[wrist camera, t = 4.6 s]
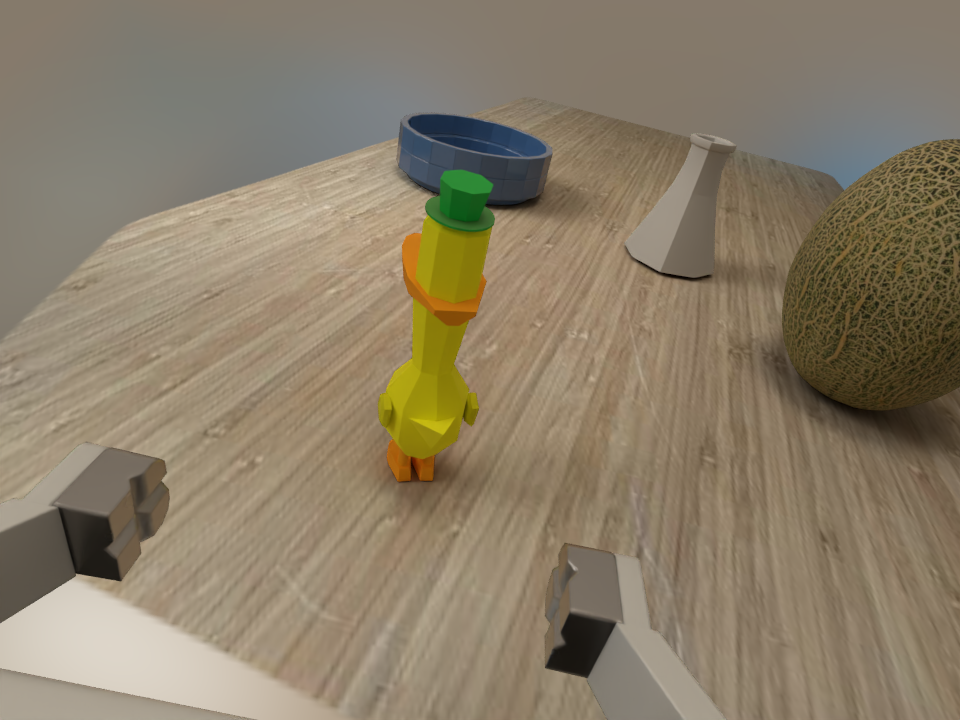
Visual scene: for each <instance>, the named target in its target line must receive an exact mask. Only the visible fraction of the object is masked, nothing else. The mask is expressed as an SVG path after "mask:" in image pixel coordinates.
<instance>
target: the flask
mask: <svg viewBox="0 0 960 720" xmlns="http://www.w3.org/2000/svg"><path fill="white" fill-rule="evenodd" d="M690 141H691V142H692V145H691V149H690V151H689V154H688V156H687V159H686V162H685V163H684V165H683V167H682V168H681V170H680V172H679V174H678V175H677V177H676V179H675V181H674V182H673V184H672V185H671V186H670V187H669V189H668V190H667V191H666V193H665V194H664V195H663V196H662V198H661V199H660V200H659V201H658V203H657V204H656V205H655V207H654V208H653V209H652V210H651V212H650V213H649V214H648V215H647V216H646V217H645V219H644V220H643V221H642V222H641V223H640V225H639V226H638V227H637V228H636V229H635V230H634V232H633V233H632V234H631V235H630V236H629V238H628V239H627V240H626V242H625V243H624V244H625V245H626V247H627V249H628V250H629V252H630V254H631V255H632V257H634V258H636V259H637V260H639V261H641V262H643V263H645V264H646V265H648V266H650V267H652V268H654V269H656V270H657V271H659V272H663V273H669V274H674V275H680V276H686V277H692V278H696V277H700V276H705V275H709V274H713V273H714V249H715V218H716V200H717V192H718V188H719V183H720V178H721V173H722V170H723V168H724V165H725V162H726V160H727V158H728V156H729V154H730V153H733V152H734V151H735V149H736V145H735V144H733V143H732V142H730V141H728V140H725V139H722V138H719V137H716V136H711V135H707V134H699V133H698V134H697V133H692V134H691V137H690Z"/></svg>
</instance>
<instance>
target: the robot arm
mask: <svg viewBox="0 0 960 720" xmlns="http://www.w3.org/2000/svg"><path fill="white" fill-rule="evenodd" d="M166 473H167V471H166V465H165V461H164V460H162V459H159V458H155V457H151V456H146V455H142V454H138V453H134V452H129V451H125V450H121V449H117V448H112V447H107V446H102V445H98V444H94V443H89V442H85V443H83V444H80V445H78V446H77V447H76V448H74V449H73V450H72V451H71V452H70V453H69V454H68V455H67V456H66V457H65V458H64V459H63V460H62V461H61V462H60V463H59V464H58V465H57V466H56V467H55V468H54V469H53V470H52V471H51V472H50V473H49V474H48V475H47V476H46V477H44V478H43V479H42V480H41V481H40V482H39V483H38V484H37V485H36V486H35V487H34V488H33V489H32V490H31V491H30V492H29V493H28V494H27V495H26V496H25V497H24V498H23V499H16V498H13V499H10V500H8V501H5V502H3V503H0V623H1V622H3V621H5V620H6V619H8V618H9V617H11V616H13V615H14V614H16V613H17V612H19V611H20V610H22V609H24V608H25V607H27V606H29V605H30V604H32V603H34V602H35V601H37V600H38V599H40V598H42V597H43V596H45V595H46V594H48V593H50V592H51V591H53V590H54V589H56V588H58V587H59V586H61V585H62V584H64V583H66V582H67V581H69V580H70V579H72V578H74V577H75V576H76V574H82V575H88V576H93V577H99V578H105V579H111V580H116V581H122V579H123V578H124V577H125V575H126V574H127V572H128V571H129V570H130V568H131V567H132V566H133V564H134V563H135V561H136V560H137V559H138V557H139V556H140V555H141V547H140V542H142V541H144V540H146V539H148V538H150V537H152V536H154V535H155V534H156V532H157V531H158V529H159V528H160V526H161V525H162V523H163V521H164V518H165V516H166V513H167V511H168V507H169V500H170V496H169V489H168V488H167V487H166V486H165V484H164V483H163V482H162V481H161V480H162V479H163V477H164V476H165V475H166ZM558 557H559V566H558V567H556V568H554V569H553V570H552V573H551V576H550V578H549V582H548V587H547V591H546V600H545V617H546V618H547V620H548V621H549V623H550V625H549V628H548V630H547V632H546V635H545V668H547V669H551V670H555V671H560V672H564V673H568V674H572V675H577V676H581V677H585V678H587V682H588V684H589V686H590V688H591V690H592V691H593V693H594V695H595V697H596V699H597V701H598V703H599V705H600V707H601V709H602V711H603V713H604V714H605V716H606V718H607V720H727V719H726V718H725V716H724V715H723V714H722V712H721V711H720V710H719V709H718V707H717V706H716V705H715V703H714V702H713V701H712V699H711V698H710V697H709V696H708V694H707V693H706V692H705V690H704V689H703V688H702V686H701V685H700V684H699V683H698V681H697V680H696V679H695V677H694V676H693V675H692V673H691V672H690V671H689V670H688V668H687V667H686V666H685V664H684V663H683V662H682V660H681V659H680V658H679V657H678V655H677V654H676V653H675V651H674V650H673V649H672V647H671V646H670V645H669V644H668V642H667V641H666V640H665V638H664V637H663V636H662V635H661V633H660V632H659V631H655V630H652V627H651V621H650V615H649V609H648V604H647V598H646V592H645V586H644V580H643V574H642V568H641V562H640V561H639V559H638V558H637V557H633V556H628V555H623V554H618V553H612V552H609V551H604V550H599V549H594V548H589V547H584V546H579V545H573V544H568V543H564V545H563V546H562V548H561V550H560V552H559V555H558ZM0 720H255V719H250V718H245V717H240V716H235V715H230V714H225V713H220V712H215V711H210V710H205V709H200V708H195V707H190V706H185V705H180V704H175V703H170V702H165V701H160V700H155V699H150V698H145V697H140V696H135V695H130V694H125V693H120V692H115V691H110V690H105V689H100V688H95V687H90V686H85V685H80V684H75V683H70V682H66V681H61V680H55V679H50V678H46V677H41V676H35V675H31V674H26V673H21V672H16V671H11V670H6V669H0Z"/></svg>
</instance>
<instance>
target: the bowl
mask: <svg viewBox="0 0 960 720" xmlns="http://www.w3.org/2000/svg"><path fill="white" fill-rule="evenodd" d="M551 158H552V147H550V146H549V145H548V144H547V143H546V142H545V141H543V140H541V139H539V138H538V137H536V136H534V135H532V134H529V133H527V132H524V131H522V130H519V129H516V128H513V127H510V126H506V125H503V124H500V123H496V122H492V121H488V120H483V119H479V118H474V117H468V116H461V115H455V114H445V113H414V114H409V115H406V116H405V117H404V118H403V119H401V124H400V132H399V141H398V149H397V158H396V160H397V163H398V166H399V168H401V169H402V170H403V171H404V172H405V173H407V174H408V176H409V177H410V178H411V179H412V180H413V181H414V182H416V183H417V184H419V185H420V186H422V187H424V188H426V189H428V190H431V191H433V192H436V193H438V194H440V178H441V177H442V175H443V173H444V171H450V170H465V171H468V172H472V173H475V174H479V175H482V176H483V177H484V178H486V179H487V180H488V181H490V182H491V183H492V184H493V187H492V190H491V192H490V195H489V197H488V199H487V202H486V204H491V205H511V204H518V203H522V202H525V201H527V200H528V199H530V198H535V197H537V196H538V195H540V194H541V193H542V192H543V189H544V186H545V182H546V178H547V173H548V170H549V166H550V162H551Z"/></svg>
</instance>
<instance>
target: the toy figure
mask: <svg viewBox="0 0 960 720" xmlns="http://www.w3.org/2000/svg"><path fill="white" fill-rule="evenodd" d="M492 187H493V184H492V183H491V182H490V181H488V180H487V179H486V178H484V177H483V176H482V175H479V174H475V173H472V172H468V171H465V170H450V171H444V173H443V175H442V177H441V178H440V196H437V197H433V198H431V199H429V200H428V201H427V203H426V205H425V210H426V212H427V214H428V215H427V217H426V218H425V220H424V222H423V229H422V234H420V233H413V234H411V235H408V236H406V238H405V240H404V242H403V245H402V262H403V275H404V281H405V284H406V287H407V290H408V293H409V294H410V295H411V296H412V297H413V343H412V358H411V359H410V360H409V361H408V362H406V363H405V364H404V365H402V366H401V367H400V368H398V369H397V370H396V371H395V372H394V374H393V376H392V378H391V380H390V382H389V384H388V387H387V389H386V393H382V394H380V397H379V401H378V414H379V420H380V422H381V424H382V426H383V427H385V428H386V429H387V431H388V432H389V434H390V435H391V437H392V438H393V439H392V440H391V441H390V442H389V446H388V452H387V461H388V465H389V466H390V468H391V470H392V472H393V474H394V476H395V477H396V479H397V481H398V482H401V481H410V479H411V459H412V464H413V466H414V468H415V470H416V472H417V475H418V477H419V479H420V481H433V474H434V459H435V455H436V454H437V453H439V452H440V451H442V450H443V449H445V448H446V447H448V446H449V445H451V444H452V443H454V442H455V441H457V438H458V434H459V431H460V427H461V423H462V419H463V418H464V421H465V422H466V423H467V424H469V425H470V426H471V427H472V425H473V424H474V422H475V419H476V416H477V413H478V410H479V406H478V401H477V395H476V393H468V392H469V388H468V386H467V385H466V383H465V382H464V380H463V378H462V377H461V375H460V373H459V372H458V370H457V369H456V367H455V365H454V362H455V359H456V356H457V354H458V351H459V348H460V345H461V342H462V339H463V336H464V333H465V330H466V327H467V324H468V322H469V320H470V319H472V318H473V317H475V316H476V313H477V310H478V307H479V304H480V301H481V297H482V294H483V291H484V288H485V285H486V282H487V281H486V280H485V278H484V276H483V274H482V272H483V267H484V263H485V258H486V253H487V249H488V244H489V239H490V235H491V230H492V226H493V225H494V221H495V217H494V215H493V213H492V212H491V211H490V210H489V209H488V208H487V207H485V204H486V202H487V199H488V197H489V195H490V192H491V190H492Z"/></svg>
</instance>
